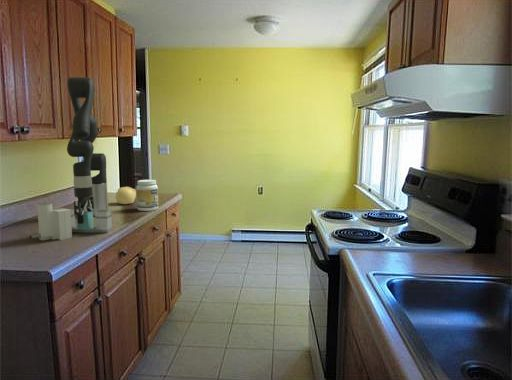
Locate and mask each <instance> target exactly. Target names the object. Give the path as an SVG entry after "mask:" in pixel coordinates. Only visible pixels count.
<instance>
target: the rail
mask: <svg viewBox="0 0 512 380" xmlns="http://www.w3.org/2000/svg"><path fill="white" fill-rule="evenodd" d="M68 209H69V208H68ZM69 210H70V214H71V228H72V233H102V234H103V233H107V234H108V233H110V232H111V231H113V230H112V228H113V221H112V220H113V218H112V215H113V214H112V209H108V210H99V211H97V212H95V215H96V216H94V217H95V226H94V227H92V228H90V229H78V226H77V225H76V215H74V208H73V209H69Z"/></svg>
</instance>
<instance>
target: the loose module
mask: <svg viewBox="0 0 512 380" xmlns="http://www.w3.org/2000/svg"><path fill="white" fill-rule="evenodd" d="M83 220H84V223H83V224H78V216H77V215H76V224H77V225H76V227H78V229H90V228H92V227H95V226H94V225H95V224H94V216H93V212H90V211H86V210H85V211H84V213H83Z"/></svg>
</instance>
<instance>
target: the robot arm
mask: <svg viewBox="0 0 512 380" xmlns="http://www.w3.org/2000/svg"><path fill="white" fill-rule="evenodd" d="M93 80H94V79H92V78H91V77H80V76H79V77H78V76H77V77H75V76H74V77H69V78H68V79H67V91H68V94H69V98H70V101H71V105H72V108H73V113H74V116H73V119H72V129H71V130H72V133H71V135H70V139H69V140H68V144H67V146H66V152H67V154H68V155H69V156H70V157H72V158H82V159H83V160H82V161H79V162H75V163H73V165H72V169H73V170H72V172H73V181H72V182H73V192H74V193H73V195H74V197H75V198H77V200H74V201H73V209H74V215H75V216H76V217H77V216H78V224H83V223H84V220H83V213H84V211H90V212H93V217H95V216H96V215H95V212H97V211H99V210H109V202H108V201H109V198H108V197H109V196H108V183H107V156H106V155H105V153H102V152H101V153H99V152H98V153H97V152H95V153H94V150H95V149H94V148H95V147H94V145H93V144H94V142H95V141H96V139H97V138H98V137H97V136H98V134H99V129H98V125H97V120H96V118H95V117H94V115H92V110H93V105H94V98H95V93H96V91H95V82H94V81H93ZM81 99H85V100H84V102H82V100H81ZM91 171H92V172H93V171H95V172H98V174H96V175H94V176H92V173H91Z"/></svg>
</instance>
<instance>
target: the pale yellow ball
mask: <svg viewBox="0 0 512 380" xmlns="http://www.w3.org/2000/svg"><path fill="white" fill-rule="evenodd" d="M115 200H116V202H117V204H120V205H128V204H133V203H134V202H135V200H136V188H132V187H130V186H123V187H122V186H121V187H120V188H118V189H117V191H116V193H115Z"/></svg>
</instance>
